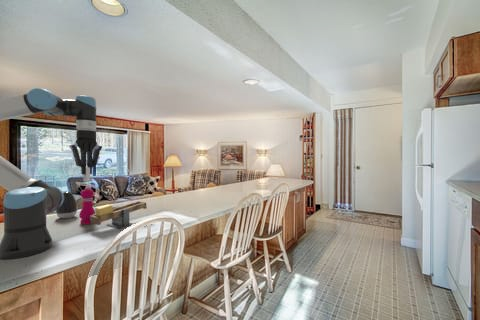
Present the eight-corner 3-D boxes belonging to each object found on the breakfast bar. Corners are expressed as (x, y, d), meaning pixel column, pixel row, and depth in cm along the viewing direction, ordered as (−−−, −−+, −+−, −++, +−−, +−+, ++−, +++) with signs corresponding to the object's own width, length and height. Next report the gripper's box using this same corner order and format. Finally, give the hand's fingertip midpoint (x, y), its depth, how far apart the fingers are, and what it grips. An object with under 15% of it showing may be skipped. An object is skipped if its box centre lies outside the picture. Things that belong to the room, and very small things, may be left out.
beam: (98, 225, 104) (97, 217, 104) (90, 222, 108) (89, 215, 107) (146, 208, 126) (146, 202, 126) (138, 206, 130) (138, 200, 129)
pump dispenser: (58, 216, 133) (58, 191, 133) (79, 214, 138) (79, 190, 137) (52, 220, 124) (52, 193, 124) (75, 218, 128) (75, 192, 128)
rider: (100, 218, 106) (99, 208, 106) (96, 216, 108) (95, 207, 108) (113, 213, 111) (112, 205, 111) (108, 212, 113) (107, 204, 113)
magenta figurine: (82, 225, 115) (82, 187, 115) (77, 223, 120) (77, 186, 120) (97, 222, 121) (97, 185, 121) (92, 220, 126) (92, 184, 125)
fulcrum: (119, 229, 110) (119, 211, 110) (106, 225, 116) (106, 208, 116) (134, 224, 117) (134, 207, 117) (121, 221, 123) (121, 205, 123)
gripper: (74, 128, 95) (74, 183, 95) (105, 131, 106) (105, 180, 106) (65, 129, 99) (66, 182, 99) (97, 132, 110) (97, 179, 110)
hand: (86, 181), depth 103 cm, fingers closed
